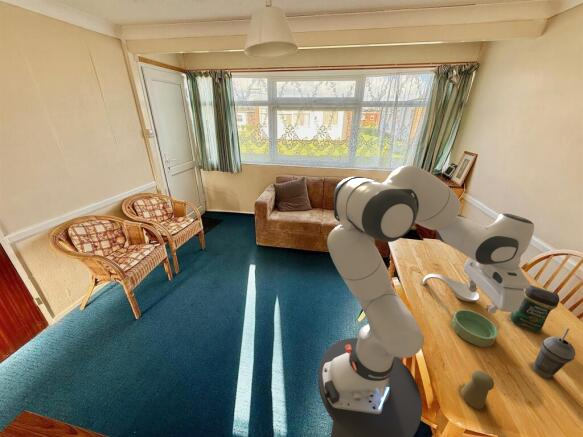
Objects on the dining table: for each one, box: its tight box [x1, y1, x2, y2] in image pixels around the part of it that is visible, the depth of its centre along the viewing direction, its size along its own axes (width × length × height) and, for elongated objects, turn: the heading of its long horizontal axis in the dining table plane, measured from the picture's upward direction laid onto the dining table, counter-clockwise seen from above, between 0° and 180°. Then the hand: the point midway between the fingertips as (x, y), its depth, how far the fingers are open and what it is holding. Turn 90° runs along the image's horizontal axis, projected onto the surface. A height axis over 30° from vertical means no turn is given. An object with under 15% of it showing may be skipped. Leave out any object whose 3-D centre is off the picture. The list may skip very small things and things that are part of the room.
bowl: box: [451, 309, 499, 348], centre depth 93 cm, size 14×14×5 cm
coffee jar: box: [510, 284, 560, 333], centre depth 94 cm, size 10×8×19 cm
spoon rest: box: [422, 273, 481, 302], centre depth 114 cm, size 24×12×7 cm, turn 55°
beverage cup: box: [532, 327, 576, 379], centre depth 76 cm, size 7×7×20 cm
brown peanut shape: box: [460, 369, 495, 410], centre depth 70 cm, size 6×6×11 cm
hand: (480, 300), depth 74 cm, fingers open, 8 cm apart
